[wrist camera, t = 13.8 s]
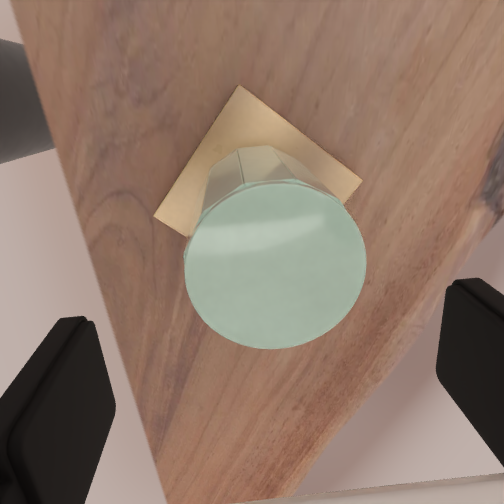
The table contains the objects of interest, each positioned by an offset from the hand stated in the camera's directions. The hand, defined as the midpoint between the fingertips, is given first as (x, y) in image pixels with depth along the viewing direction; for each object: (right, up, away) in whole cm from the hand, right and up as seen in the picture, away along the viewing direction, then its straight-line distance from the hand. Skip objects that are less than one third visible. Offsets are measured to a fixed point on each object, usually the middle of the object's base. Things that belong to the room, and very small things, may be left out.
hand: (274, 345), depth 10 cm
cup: (0, +5, +13) cm, 14 cm away
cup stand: (0, +7, +17) cm, 18 cm away
